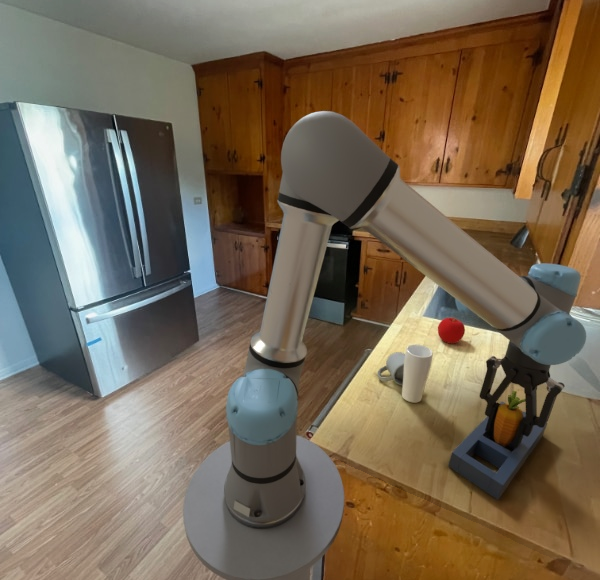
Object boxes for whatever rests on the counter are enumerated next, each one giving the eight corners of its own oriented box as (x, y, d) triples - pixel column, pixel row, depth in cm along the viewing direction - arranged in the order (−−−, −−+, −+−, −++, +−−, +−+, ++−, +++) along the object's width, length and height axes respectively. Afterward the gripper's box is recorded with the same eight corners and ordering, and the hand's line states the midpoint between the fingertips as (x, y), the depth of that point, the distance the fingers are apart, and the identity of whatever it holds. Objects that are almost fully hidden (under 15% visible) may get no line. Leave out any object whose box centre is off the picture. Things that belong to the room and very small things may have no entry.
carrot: (492, 436, 77) (508, 383, 72) (515, 450, 74) (534, 395, 68) (482, 446, 75) (498, 392, 69) (505, 461, 71) (524, 405, 65)
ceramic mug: (405, 369, 104) (408, 348, 101) (417, 385, 96) (420, 362, 93) (373, 371, 103) (375, 350, 100) (382, 387, 95) (385, 365, 92)
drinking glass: (409, 387, 96) (417, 341, 90) (429, 399, 90) (438, 352, 85) (393, 395, 92) (400, 348, 86) (413, 408, 87) (422, 360, 81)
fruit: (467, 345, 119) (473, 320, 115) (446, 348, 117) (451, 322, 113) (450, 333, 127) (455, 309, 123) (430, 336, 125) (435, 312, 121)
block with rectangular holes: (448, 466, 70) (451, 452, 69) (498, 413, 86) (501, 401, 84) (497, 500, 63) (503, 485, 62) (542, 436, 79) (547, 423, 77)
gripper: (596, 356, 60) (556, 452, 69) (491, 322, 72) (469, 407, 81) (585, 371, 55) (544, 472, 64) (476, 332, 68) (454, 420, 77)
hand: (502, 435), depth 73 cm, fingers closed on carrot, 5 cm apart
